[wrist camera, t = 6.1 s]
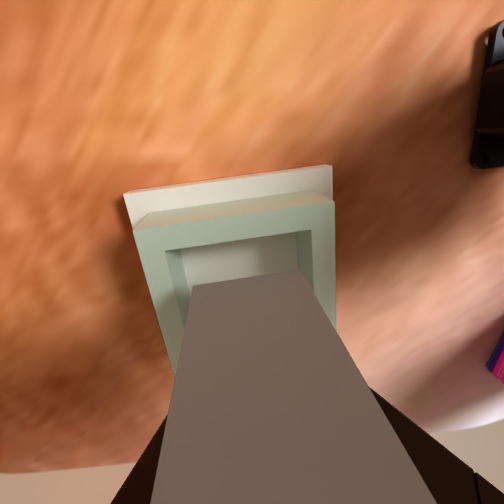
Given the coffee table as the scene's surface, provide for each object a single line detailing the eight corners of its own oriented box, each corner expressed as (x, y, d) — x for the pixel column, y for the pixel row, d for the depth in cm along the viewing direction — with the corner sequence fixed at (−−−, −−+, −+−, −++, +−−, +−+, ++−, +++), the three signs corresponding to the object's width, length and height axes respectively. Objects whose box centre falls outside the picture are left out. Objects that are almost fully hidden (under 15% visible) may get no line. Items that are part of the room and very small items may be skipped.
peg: (300, 269, 11) (738, 1019, 2) (305, 354, 12) (550, 995, 3) (193, 285, 11) (7, 1230, 1) (211, 369, 12) (177, 1097, 3)
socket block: (325, 164, 15) (359, 172, 11) (329, 325, 19) (355, 371, 15) (129, 190, 15) (97, 209, 11) (173, 350, 18) (161, 404, 15)
